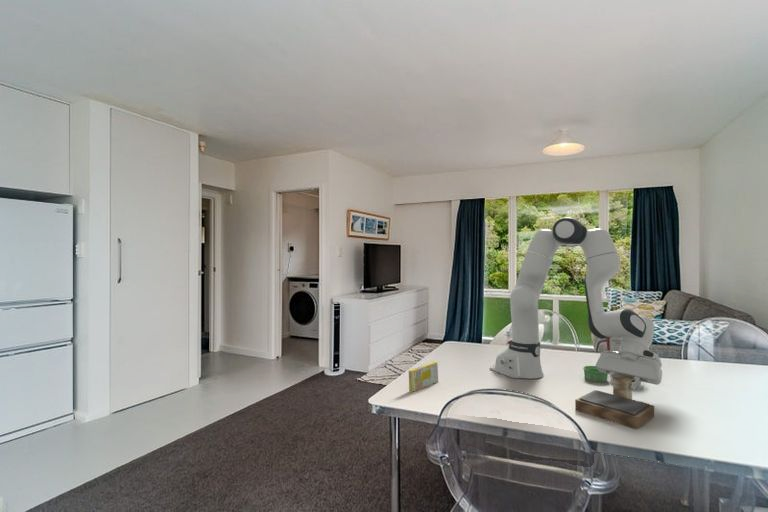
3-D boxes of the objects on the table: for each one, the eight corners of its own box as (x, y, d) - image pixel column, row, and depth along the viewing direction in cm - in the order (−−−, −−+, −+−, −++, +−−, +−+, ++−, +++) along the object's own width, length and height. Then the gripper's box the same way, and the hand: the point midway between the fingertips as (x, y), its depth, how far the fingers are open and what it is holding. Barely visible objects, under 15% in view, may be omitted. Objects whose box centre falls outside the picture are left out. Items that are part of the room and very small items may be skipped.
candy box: (434, 381, 156) (434, 361, 156) (438, 382, 155) (438, 362, 155) (408, 391, 145) (408, 369, 145) (412, 392, 143) (412, 371, 143)
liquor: (620, 366, 173) (619, 305, 173) (628, 371, 166) (627, 307, 166) (603, 365, 174) (602, 305, 175) (610, 370, 167) (609, 307, 167)
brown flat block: (575, 410, 125) (575, 398, 125) (594, 400, 134) (594, 388, 134) (637, 429, 111) (637, 415, 111) (654, 416, 119) (654, 404, 119)
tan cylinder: (613, 399, 134) (613, 376, 134) (618, 396, 137) (618, 374, 137) (627, 403, 131) (626, 379, 131) (632, 400, 133) (631, 377, 133)
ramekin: (578, 377, 158) (578, 367, 158) (593, 374, 162) (593, 364, 162) (598, 384, 150) (597, 373, 150) (613, 381, 154) (613, 370, 154)
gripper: (599, 344, 146) (588, 374, 140) (662, 355, 130) (652, 389, 124) (604, 354, 149) (593, 384, 143) (667, 365, 133) (657, 400, 127)
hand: (621, 387), depth 133 cm, fingers closed on tan cylinder, 4 cm apart
